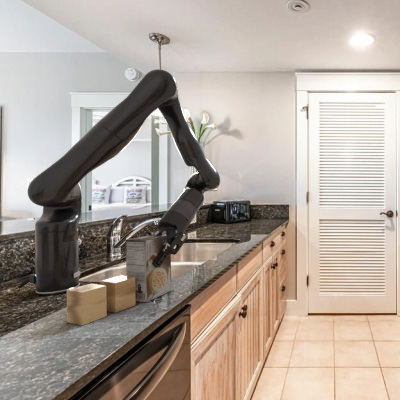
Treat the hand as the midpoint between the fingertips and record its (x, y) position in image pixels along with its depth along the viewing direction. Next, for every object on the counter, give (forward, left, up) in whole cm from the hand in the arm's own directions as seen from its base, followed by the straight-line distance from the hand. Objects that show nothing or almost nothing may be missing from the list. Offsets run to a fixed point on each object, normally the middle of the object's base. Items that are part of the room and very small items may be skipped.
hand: (144, 264), depth 77 cm
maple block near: (0, -14, -9) cm, 17 cm away
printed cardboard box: (0, +2, -9) cm, 9 cm away
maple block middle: (0, -7, -9) cm, 11 cm away
